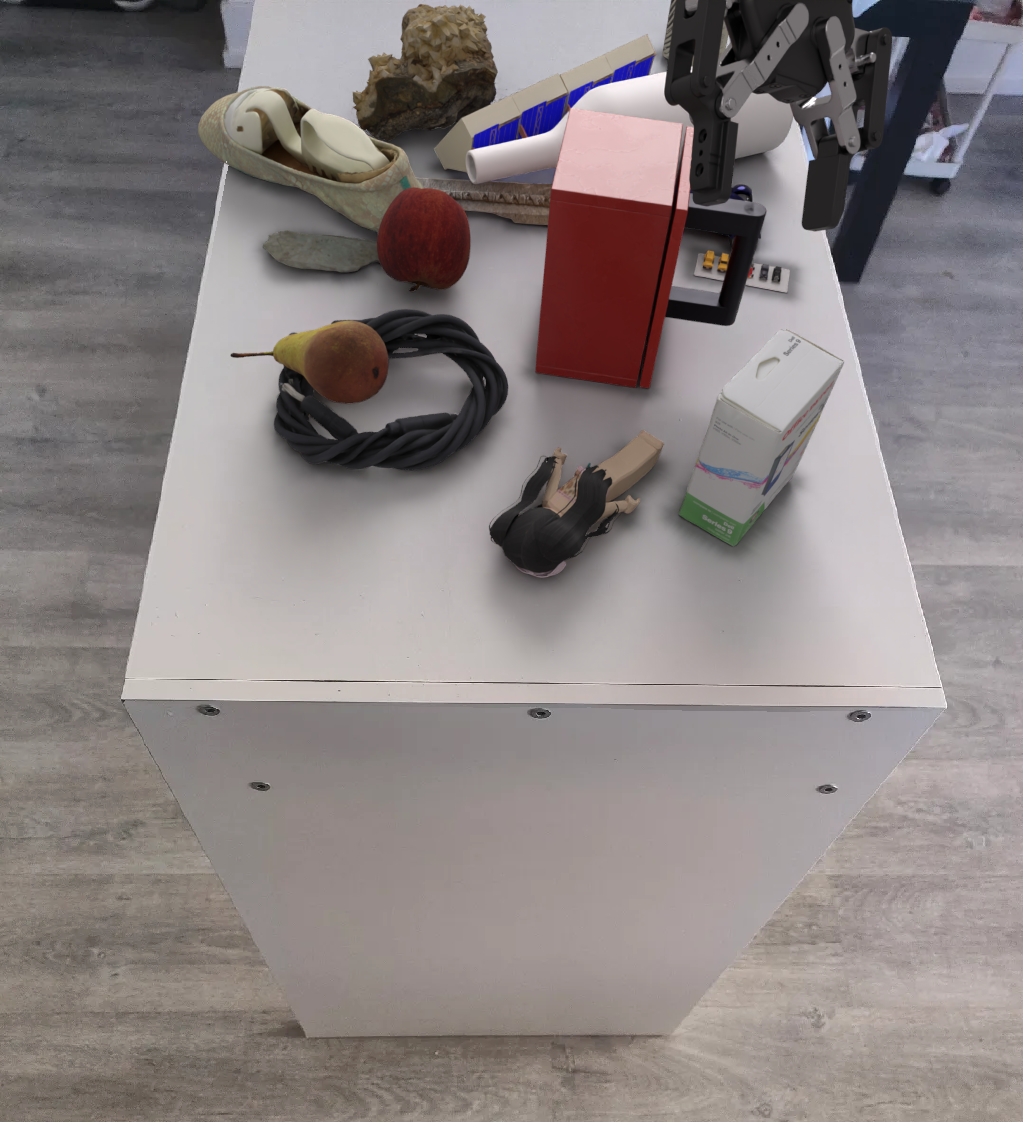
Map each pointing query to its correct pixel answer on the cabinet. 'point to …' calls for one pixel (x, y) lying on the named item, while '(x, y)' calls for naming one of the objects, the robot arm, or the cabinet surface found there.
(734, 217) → the door
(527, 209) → the fossil
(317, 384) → the fruit
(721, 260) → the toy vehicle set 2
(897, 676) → the cabinet surface
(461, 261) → the apple
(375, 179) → the ballet flat
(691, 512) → the ink box
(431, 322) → the cable
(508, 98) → the building
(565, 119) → the bottle
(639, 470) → the toy figure
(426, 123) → the mineral specimen
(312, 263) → the stone
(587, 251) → the cabinet
